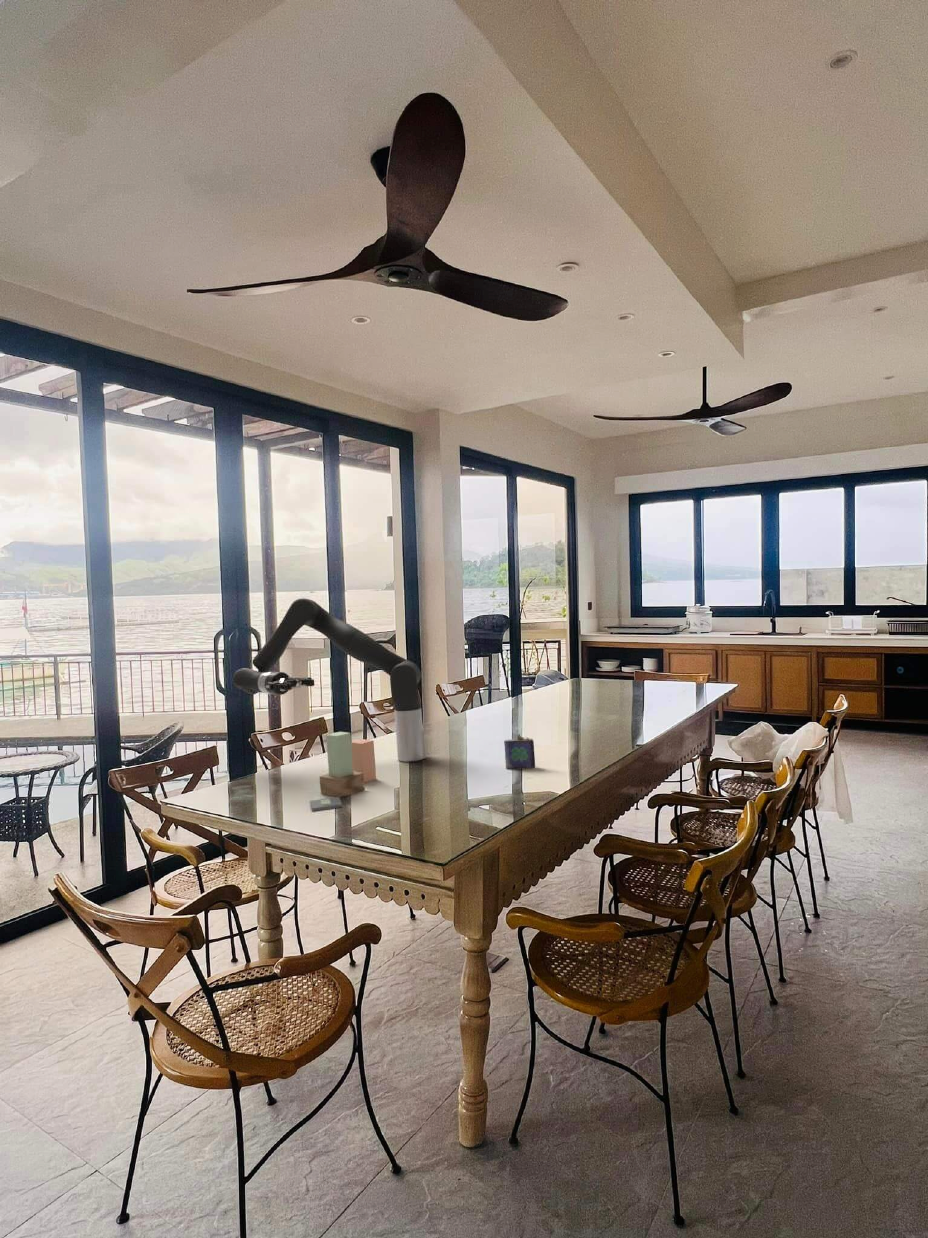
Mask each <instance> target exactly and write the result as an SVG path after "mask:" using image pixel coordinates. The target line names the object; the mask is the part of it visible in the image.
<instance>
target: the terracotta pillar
mask: <svg viewBox="0 0 928 1238" xmlns="http://www.w3.org/2000/svg"><path fill="white" fill-rule="evenodd" d="M351 748H352V761H353V771H356V772H361V773H363V777H364V784H365V783H369V782H372V781H374V780H377V770H376V759H375V742H374V740H371V739H364V738H363V739H358V740H355V741H351Z"/></svg>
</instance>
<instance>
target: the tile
mask: <svg viewBox="0 0 928 1238" xmlns="http://www.w3.org/2000/svg"><path fill="white" fill-rule="evenodd" d="M340 798H341V797H335V796H332V797H329V798H328V797H326V798H320V799H313V800H309V804H310V809H311V812H317V811H324V810H325V811H326V810H330V809H338V808H343V803H342V800H341V799H340Z"/></svg>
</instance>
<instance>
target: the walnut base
mask: <svg viewBox="0 0 928 1238" xmlns="http://www.w3.org/2000/svg"><path fill="white" fill-rule="evenodd" d="M319 788H320V794H322V795H323V794H324V795H327V796H332V797H339V798H343V797H346V796H349V795H352V794H356V793H358V792H362V791H364V790H365V783H364V777H363V773H361V772H356V771H353V774H350V775H347V776H343V777H340V778H339V777H334V776H329V773H326V774H323V775H319Z"/></svg>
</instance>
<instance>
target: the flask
mask: <svg viewBox="0 0 928 1238" xmlns="http://www.w3.org/2000/svg"><path fill="white" fill-rule="evenodd" d="M515 737H516V738H515V739H505V740H504V742H503V743H504V757H505V758H504V759H505V760H504V761H505V769H506V770H523V769H536V757H535V742H534V740H533V738H529V737H526V738H525V737H523V736H521V733H520V732H519V733H516V735H515Z"/></svg>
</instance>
